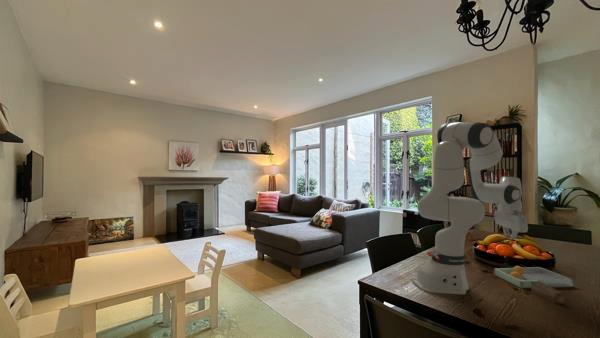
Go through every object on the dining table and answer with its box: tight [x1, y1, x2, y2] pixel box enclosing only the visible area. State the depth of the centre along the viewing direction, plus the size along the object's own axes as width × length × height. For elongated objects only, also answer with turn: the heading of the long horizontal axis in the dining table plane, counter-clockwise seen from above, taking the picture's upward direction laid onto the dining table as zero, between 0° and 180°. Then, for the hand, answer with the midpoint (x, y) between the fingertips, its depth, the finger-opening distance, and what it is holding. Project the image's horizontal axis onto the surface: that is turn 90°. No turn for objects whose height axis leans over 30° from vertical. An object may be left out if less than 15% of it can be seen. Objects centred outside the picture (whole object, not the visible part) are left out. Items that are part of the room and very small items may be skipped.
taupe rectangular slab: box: [530, 282, 564, 304], centre depth 103 cm, size 4×10×4 cm, turn 177°
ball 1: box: [512, 265, 524, 275], centre depth 122 cm, size 4×4×4 cm
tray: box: [493, 267, 539, 289], centre depth 118 cm, size 8×14×3 cm, turn 3°
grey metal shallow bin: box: [510, 266, 574, 288], centre depth 119 cm, size 15×14×3 cm
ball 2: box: [510, 271, 521, 280], centre depth 117 cm, size 4×4×4 cm
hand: (510, 237), depth 128 cm, fingers open, 3 cm apart
